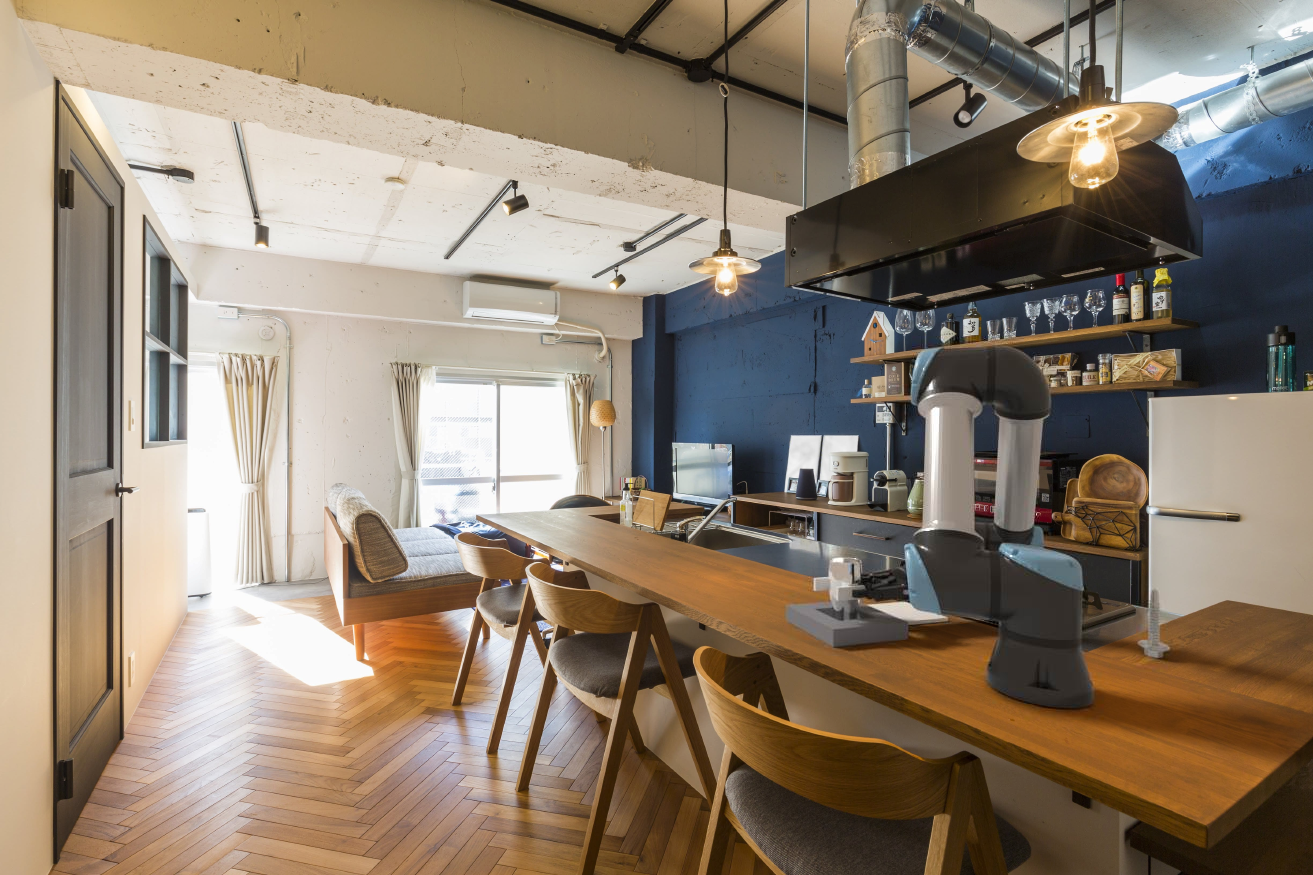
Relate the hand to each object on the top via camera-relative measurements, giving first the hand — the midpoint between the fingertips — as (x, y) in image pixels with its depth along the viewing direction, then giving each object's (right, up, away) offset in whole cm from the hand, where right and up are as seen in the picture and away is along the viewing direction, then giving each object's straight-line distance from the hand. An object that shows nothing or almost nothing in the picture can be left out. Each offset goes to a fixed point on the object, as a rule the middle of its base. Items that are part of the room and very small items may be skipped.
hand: (825, 588), depth 130 cm
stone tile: (+21, -9, +14) cm, 27 cm away
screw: (+60, -10, -11) cm, 62 cm away
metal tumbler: (+4, -9, +2) cm, 10 cm away
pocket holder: (+4, -9, +2) cm, 10 cm away
